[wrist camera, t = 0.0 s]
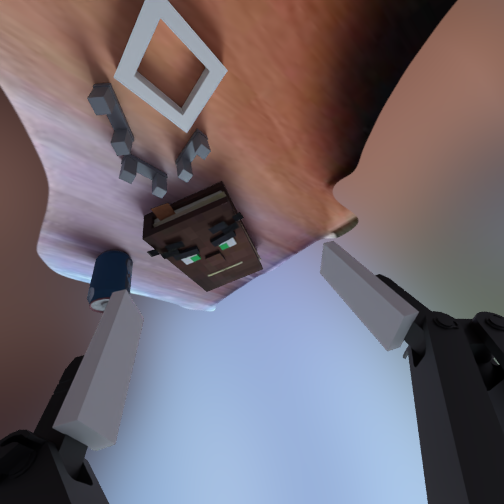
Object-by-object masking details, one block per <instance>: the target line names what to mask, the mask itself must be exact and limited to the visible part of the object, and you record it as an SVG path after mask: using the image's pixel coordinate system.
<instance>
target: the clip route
mask: <svg viewBox="0 0 504 504" xmlns="http://www.w3.org/2000/svg"><path fill="white" fill-rule="evenodd" d="M87 99H88V101H89V102H90V104H91V106H92V108H93V110H94V112H95V114H96V115H104V114H107V117H108V119H109V121H110V123H111V125H112V127H113V129H114V134H113V137H112V140H111V145H112V147H113V148H114V150H115V152H116V154H117V156H119V155H124V157H123V159H122V162H121V164H122V166H121V171H120V175H119V179H122V180H124V181H126V182H128V183H130V184H132V182H133V180H134V178H135V177H136V172H137V173H139V174H141V175H143V176H145V177H147V178H149V179H151V180H152V194H153V195H155V196H157V197H159V198H163V196H164V195H165V194H166V192H167V180H166V179H167V174H165V173H164V172H162V171H160V170H158V169H157V168H155V167H153V166H151V165H149V164H148V163H146V162H144V161H142V160H141V159H139V158H137V157H135V156H134V155H132V154H131V148H132V142H133V141H134V137H133V134H132V132H131V130H130V127H129V125H128V122H127V120H126V118H125V115H124V113H123V111H122V108H121V106H120V104H119V101H118V99H117V97H116V94H115V92H114V90H113V87H112V85H111V83H102V84H94V85H93V90H92V91H91V93H90V94H89V96H88V97H87ZM207 140H208V138H207V136H206V135H205V134H204V133H202V132H201V131H200V130H199V129H198V128H197V129H196V131H195V132H194V134H193V135H192V137H191V138H190V140H189V141H188V143H187V144H186V146H185V147H184V149H183V150H182V152H181V153H180V155H179V156H178V158H177V159H176V161H175V163H176V165H177V174H178V178H180V179H182V180H183V181H185V182H188V181H189V180H190V178H191V177H192V176H193V173H192V167H191V162H192V161H193V159H194V158H195V156H196V155H198V156H200V157H201V158H202V159H204V160H205V158H206V157H207V156H208V154H209V153H210V152H211V150H210V147H209V144H208V141H207Z"/></svg>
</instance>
